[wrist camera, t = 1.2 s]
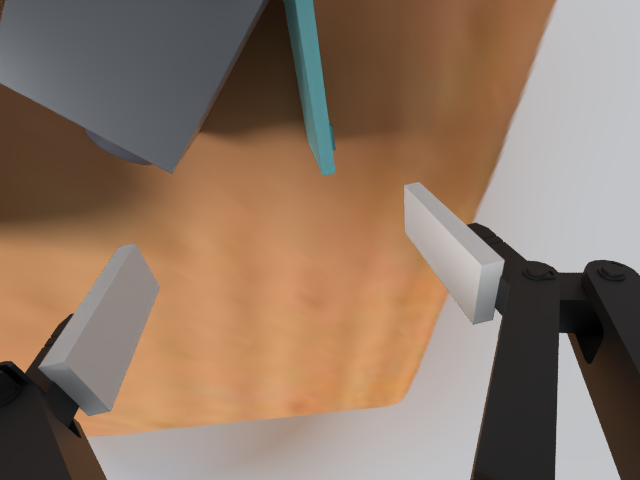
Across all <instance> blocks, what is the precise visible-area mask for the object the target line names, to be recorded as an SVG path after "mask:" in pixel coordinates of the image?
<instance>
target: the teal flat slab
mask: <svg viewBox="0 0 640 480" xmlns="http://www.w3.org/2000/svg"><path fill="white" fill-rule="evenodd" d="M282 1H283V2H284V6H285V12H286V18H287V24H288V30H289V35H290V41H291V47H292V53H293V59H294V64H295V70H296V76H297V82H298V88H299V93H300V99H301V105H302V111H303V117H304V122H305V128H306V134H307V140H308V143H309V145H310V148H311V150H312V152H313V155H314V157H315V159H316V162H317V164H318V166H319V168H320V171H321V173H322V175H323V176H324V175H329V174H334V173H336V172H335V165H334V157H333V150H336V149H335V141H334V134H333V126H332V125H331V123H330V122H329V119H328V112H327V104H326V97H325V89H324V81H323V74H322V66H321V59H320V51H319V44H318V36H317V29H316V21H315V13H314V6H313V0H282Z"/></svg>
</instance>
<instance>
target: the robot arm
mask: <svg viewBox="0 0 640 480" xmlns="http://www.w3.org/2000/svg"><path fill="white" fill-rule="evenodd" d="M404 212H405V233H406V235H407V236H408V237H409V239H410V240H411V241H412V243H413V244H414V245H415V247H416V248H417V250H418V251H419V252H420V254H421V255H422V256H423V258H424V259H425V260H426V262H427V263H428V264H429V266H430V267H431V268H432V270H433V271H434V273H435V274H436V275H437V277H438V278H439V279H440V281H441V282H442V283H443V285H444V286H445V287H446V289H447V290H448V292H449V293H450V294H451V296H452V297H453V298H454V300H455V301H456V302H457V304H458V305H459V306H460V308H461V309H462V310H463V312H464V313H465V315H466V316H467V317H468V319H469V320H470V321H471V323H472V324H473V325H474V324H477V323H482V322H486V321H490V320H493V317H494V312H495V308H496V309H497V310H498V312H499V313H500V314H501V315H502V321H501V325H500V330H499V335H498V341H497V347H496V352H495V357H494V362H493V367H492V372H491V377H490V382H489V387H488V393H487V397H486V402H485V408H484V413H483V418H482V423H481V428H480V434H479V438H478V443H477V449H476V453H475V458H474V464H473V470H472V474H471V479H470V480H555V456H556V455H555V454H556V420H557V383H558V347H559V333H567V334H568V337H569V339H570V342H571V345H572V347H573V350H574V353H575V356H576V359H577V361H578V364H579V367H580V369H581V372H582V375H583V378H584V380H585V383H586V386H587V388H588V391H589V394H590V397H591V399H592V402H593V405H594V407H595V410H596V413H597V416H598V418H599V421H600V424H601V427H602V429H603V432H604V435H605V437H606V440H607V443H608V445H609V448H610V451H611V454H612V457H613V459H614V462H615V465H616V467H617V470H618V473H619V476H620V478H621V480H640V275H639V274H638V273H637V272H636V271H635V270H633V269H632V268H630V267H628V266H626V265H624V264H621V263H618V262H614V261H607V260H595V261H592V262H589V263H588V264H587V266H586V267H585V269H584V272H583V273H558V272H557V271H556V270H555V269H554V268H553V267H551V266H549V265H547V264H545V263H541V262H537V261H527V260H526V259H524V258H523V257H522V256H521V255H520V254H518V253H517V252H516V251H515V250H514V249H512V248H511V247H510V246H509V245H508V244H506V243H505V242H503V240H502V239H501V238H499V237H498V236H496V234H495V233H493V232H492V231H491V230H490V229H489V228H487V227H485V226H482V225H480V224H478V223H473V224H468V225H466V224H464V223H463V222H462V221H461V220H460V219H459V218H458V217H457V216H456V215H455V214H454V213H452V212H451V211H450V210H449V209H448V208H447V207H446V206H445V205H444V204H443V203H442V202H440V201H439V200H438V199H437V198H436V197H435V196H434V195H433V194H432V193H431V192H430V191H428V190H427V189H426V188H425V187H424V186H423V185H422V184H421V183H420V182H417V183H412V184H408V185H404ZM159 289H160V286H159V284H158V282H157V280H156V279H155V277H154V275H153V273H152V272H151V270H150V268H149V266H148V265H147V263H146V261H145V259H144V258H143V256H142V254H141V252H140V251H139V249H138V247H137V245H136V244H135V243H134V244H129V245H125V246H120V247H118V249H117V250H116V252H115V253H114V255H113V256H112V258H111V259H110V261H109V262H108V264H107V265H106V267H105V268H104V270H103V271H102V273H101V274H100V276H99V277H98V279H97V280H96V282H95V283H94V285H93V286H92V288H91V289H90V291H89V292H88V294H87V295H86V297H85V298H84V300H83V301H82V303H81V304H80V306H79V307H78V309H77V310H76V312H75V313H74V314H70V315H69V316H68V317H67V318H66V319H65V320H64V321H63V322H61V323H60V324H59V325H58V327H57V328H56V329H55V331H54V332H53V334H52V335H51V338H49V339H48V341H47V342H46V344H45V345H44V346H45V347H44V348H42V350H41V351H40V352H39V354H38V355H37V357H36V358H35V360H34V361H33V362H32V364H31V365H30V367H29V368H28V370H27V371H26V373H24V372H23V371H22V370H21V369H19V368H18V367H17V366H16V365H15V364H14V363H13V362H12V361H4V362H1V363H0V480H107V479H106V477H105V475H104V473H103V471H102V468H101V466H100V464H99V462H98V460H97V459H96V456H95V454H94V452H93V450H92V448H91V446H90V444H89V442H88V440H87V438H86V436H85V434H84V432H83V430H82V428H81V426H80V424H79V422H77V421H76V420H75V419H74V416H75V414H76V412H77V410H78V408H79V407H80V408H81V409H82V410H83V411H84V412H85V413H86V414H87V415H88V416H92V415H96V414H100V413H104V412H108V411H111V410H112V407H113V404H114V402H115V399H116V397H117V394H118V392H119V389H120V387H121V384H122V382H123V379H124V377H125V374H126V372H127V369H128V367H129V364H130V362H131V359H132V357H133V354H134V352H135V349H136V347H137V344H138V342H139V339H140V336H141V334H142V331H143V329H144V326H145V324H146V321H147V319H148V316H149V314H150V311H151V309H152V306H153V304H154V301H155V299H156V296H157V294H158V291H159Z"/></svg>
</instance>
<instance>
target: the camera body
mask: <svg viewBox="0 0 640 480" xmlns="http://www.w3.org/2000/svg"><path fill="white" fill-rule="evenodd" d="M268 2H269V0H5V4H4V8H3V12H2V16H1V20H0V83H1V84H3V85H5V86H7V87H9V88H10V89H12V90H14V91H16V92H18V93H20V94H22V95H24V96H26V97H27V98H29V99H31V100H33V101H35V102H37V103H39V104H41V105H43V106H44V107H46V108H48V109H50V110H52V111H54V112H56V113H58V114H60V115H61V116H63V117H65V118H67V119H69V120H71V121H73V122H75V123H77V124H79V125H80V126H82V127H84V128H85V132H86V134H87V136H88V137H89V138H90V140H91V141H93V142H94V143H95V144H96V145H97V146H99V147H100V148H102V149H103V150H105V151H106V152H108V153H110V154H112V155H114V156H116V157H119V158H121V159H123V160H126V161H129V162H133V163H137V164H143V165H151V164H154V165H156V166H158V167H160V168H162V169H164V170H166V171H167V172H169V173H171V174H172V172H173V171H174V169H175V168H176V166H177V165H178V163H179V162H180V160H181V159H182V157H183V156H184V154H185V153H186V151H187V150H188V148H189V147H190V145H191V144H192V142H193V141H194V139H195V138H196V136H197V135H198V133H199V131H200V129H201V128H202V126H203V124H204V122H205V120H206V118H207V116H208V114H209V113H210V111H211V109H212V107H213V105H214V103H215V101H216V99H217V98H218V96H219V94H220V92H221V90H222V88H223V86H224V85H225V83H226V81H227V79H228V77H229V75H230V73H231V71H232V70H233V68H234V66H235V64H236V62H237V60H238V58H239V56H240V55H241V53H242V51H243V49H244V47H245V45H246V43H247V41H248V40H249V38H250V36H251V34H252V32H253V30H254V28H255V27H256V25H257V23H258V21H259V19H260V17H261V15H262V13H263V12H264V10H265V8H266V6H267V4H268Z"/></svg>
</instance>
